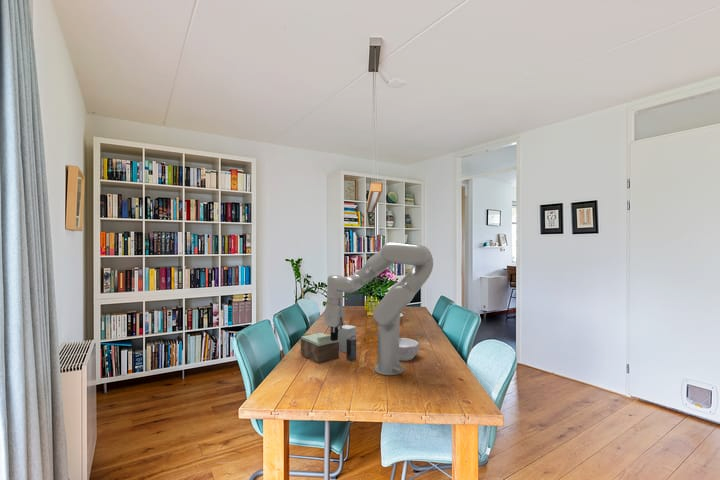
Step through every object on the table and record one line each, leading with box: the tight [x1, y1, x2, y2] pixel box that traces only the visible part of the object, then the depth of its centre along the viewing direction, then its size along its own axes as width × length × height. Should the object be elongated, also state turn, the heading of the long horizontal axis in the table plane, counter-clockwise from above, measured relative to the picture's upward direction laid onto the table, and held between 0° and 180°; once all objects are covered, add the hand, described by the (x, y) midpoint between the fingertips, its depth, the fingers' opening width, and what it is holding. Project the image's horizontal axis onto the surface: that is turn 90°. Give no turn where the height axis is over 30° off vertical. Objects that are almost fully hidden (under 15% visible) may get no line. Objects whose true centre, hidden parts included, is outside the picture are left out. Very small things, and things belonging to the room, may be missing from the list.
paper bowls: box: [399, 337, 420, 362], centre depth 175 cm, size 15×15×8 cm
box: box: [300, 333, 340, 365], centre depth 178 cm, size 22×12×8 cm, turn 39°
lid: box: [300, 332, 339, 346], centre depth 175 cm, size 16×12×4 cm
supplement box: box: [338, 324, 357, 354], centre depth 186 cm, size 7×7×13 cm
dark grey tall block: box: [346, 338, 357, 362], centre depth 172 cm, size 3×3×10 cm
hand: (334, 340), depth 165 cm, fingers closed
